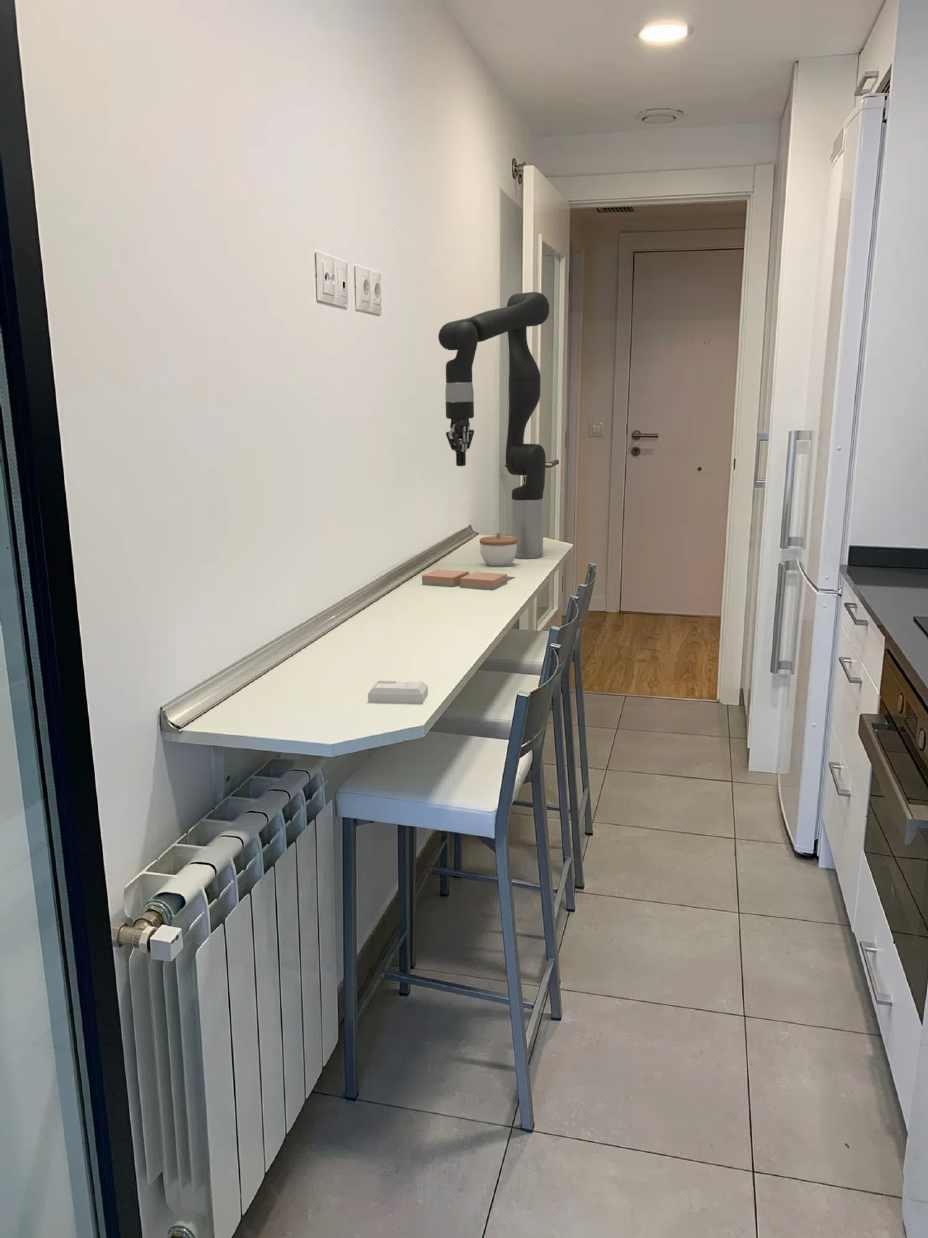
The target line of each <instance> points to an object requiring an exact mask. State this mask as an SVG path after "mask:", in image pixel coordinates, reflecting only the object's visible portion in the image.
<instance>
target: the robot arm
mask: <svg viewBox="0 0 928 1238" xmlns="http://www.w3.org/2000/svg"><path fill="white" fill-rule="evenodd" d="M549 315H550V303H549V299H548V298H547V297H546V296H545V294H543V293H541V292H539V291H531V292H530V291H529V292H521V293H515V294H514V293H513V294H512V295H511V296H510V297H509V298H508V300H507V303H506V306H505V307H498V308H496V309H490V310H486V311H483V312H481V313H480V312H479V313H477V314H475V315H473V316H471V317H467V318H463V319H457V320H454V321H450V322H446V323H445V324H444V325H443V326H442V327H441V328H440V330H439V332H438V334H437V336H438V342H439V344H440V345H441V347H443V349H445V350H447V351H457V352H456V355H455V357H454V358H453V359H450V360H448V361H447V362H446V364H445V383H446V384H445V418H446V419H447V420H450V426H449V428H450V430H449V431H446V433H445V436H446V438H447V441H448V444H449V447H450V448H451V450H452V451H454V453H455V465H456V466H457V467H465V466H466V465H467V457H466V455H467V454H466V452H467V451H468V450H469V449H470V447H471V444H472V441H473V438H474V434H475V430H474V429H471V428H470V427H471V424H470V419H474V417H475V405H474V404H475V403H474V402H475V401H474V400H475V399H474V397H475V395H474V394H475V393H474V387H473V386H474V385H473V384H474V383H473V364H474V360H475V355H476V353H477V352H476V351H477V349H478V348H477V347H478V343H481V342H485V341H487V340H490V339H492V338H494V337H496V336H500V335H502V334H504V333H507V338H508V339H507V340H508V342H507V343H508V421H507V423H508V426H507V437H506V446H505V466H506V470H507V471H508V474H510V475H513V476H526V480H525V482H524V483H523V484H522V485H521V486H520V485H519V486H518V487H515V488H513V489H512V491H511V537H515V538H517V552H516V556H515V558H518V559H537V558H541V557H543V556H544V520H543V519H544V491H545V486H546V483H545V482H546V461H547V460H546V458H547V457H546V452H545V449H544V447H543V446H542V445H541V444H539V443H525V441H524V439H525V432H526V428H527V424H528V422H529V420H530V418H531V416H532V415H533V413H534V412H535V410H536V408H537V406H538V403H539V402H540V398H541V385H542V384H541V377H542V376H541V372H540V368H539V367H538V364H537V362H536V361H535V358H534V356H533V355H532V353H531V350H530V348H529V345H528V344H529V343H528V336H527V333H528V332H527V327H528V328H529V327H536V326H540V325H542V324H543V323H545V322H546V321H547V319H548V317H549Z"/></svg>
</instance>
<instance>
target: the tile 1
mask: <svg viewBox="0 0 928 1238" xmlns="http://www.w3.org/2000/svg"><path fill="white" fill-rule="evenodd" d="M469 574H470V573H469V571H468V570H467V571H465V570H453V569H435V570H432V571H430V572H427V573H424V574H422V575H421V585H423V586H424V585H426V586H436V587H437V586H438V587H449V588H451V587H452V588H455V587H458V586H457V585H459V584H460V578H462V577H464V576H467V575H469Z"/></svg>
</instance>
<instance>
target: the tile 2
mask: <svg viewBox="0 0 928 1238" xmlns="http://www.w3.org/2000/svg"><path fill="white" fill-rule="evenodd" d="M507 577H508V574H507V573H498V572H497V573H494V572H482V571H481V572H480V571H474V572H472V573H469V575H467V576H464V577H462V578H460V586H459V587H460V588H461V589H472V590H473V589H475V590H487V591H494V590H496V589H498V588H500V587H502V586H504V585H506V584H508V581H507Z"/></svg>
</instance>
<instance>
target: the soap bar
mask: <svg viewBox="0 0 928 1238" xmlns="http://www.w3.org/2000/svg"><path fill="white" fill-rule="evenodd" d="M428 689H429V685H427V684H426V683H425V682H423V681H409V680H408V681H404V680H403V681H401V680H378V681H377V682H375V684H373V686H372V687H371V689H370V690H369V692H368V693H367V701H368V702H367V703H397V704H398V703H399V704H423V703H424V702H425V700H426V698H427V697H428V695H429V690H428Z"/></svg>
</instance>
